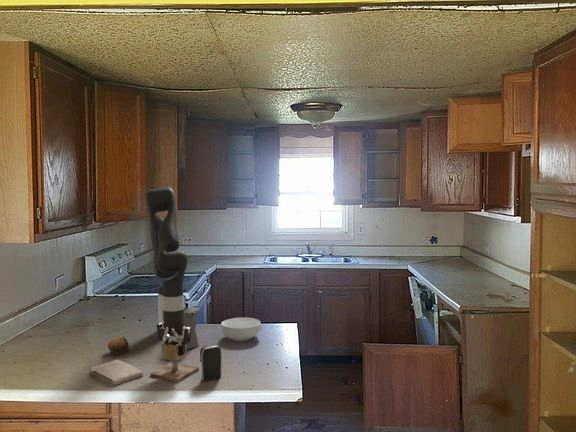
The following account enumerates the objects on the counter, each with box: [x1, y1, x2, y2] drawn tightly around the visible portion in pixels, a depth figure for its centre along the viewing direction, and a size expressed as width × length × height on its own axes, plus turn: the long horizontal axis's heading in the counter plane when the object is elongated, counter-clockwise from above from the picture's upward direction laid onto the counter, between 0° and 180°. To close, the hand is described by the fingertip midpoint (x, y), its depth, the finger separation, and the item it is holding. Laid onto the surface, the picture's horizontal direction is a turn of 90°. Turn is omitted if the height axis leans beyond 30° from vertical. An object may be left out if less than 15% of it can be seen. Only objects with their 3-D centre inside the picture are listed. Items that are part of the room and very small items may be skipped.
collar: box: [161, 339, 187, 361], centre depth 180 cm, size 6×6×5 cm
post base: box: [150, 360, 200, 383], centre depth 180 cm, size 12×12×7 cm
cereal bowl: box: [220, 317, 261, 342], centre depth 218 cm, size 17×17×7 cm
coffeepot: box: [179, 302, 199, 350], centre depth 210 cm, size 15×9×18 cm, turn 33°
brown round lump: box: [107, 336, 129, 355], centre depth 202 cm, size 8×8×6 cm
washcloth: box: [89, 359, 144, 386], centre depth 179 cm, size 12×18×3 cm, turn 49°
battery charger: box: [199, 344, 222, 382], centre depth 176 cm, size 7×4×11 cm, turn 121°
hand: (174, 353), depth 180 cm, fingers closed on collar, 6 cm apart
